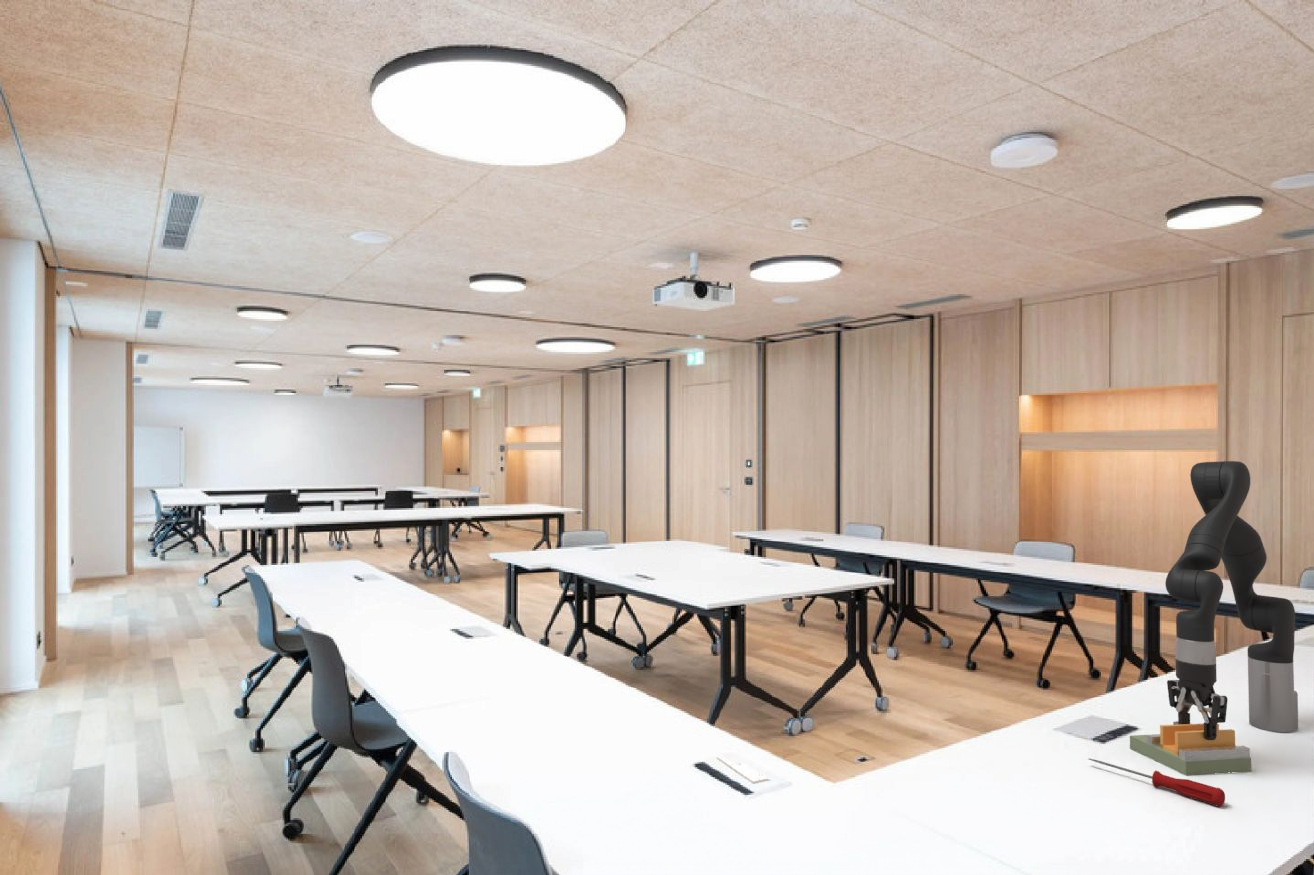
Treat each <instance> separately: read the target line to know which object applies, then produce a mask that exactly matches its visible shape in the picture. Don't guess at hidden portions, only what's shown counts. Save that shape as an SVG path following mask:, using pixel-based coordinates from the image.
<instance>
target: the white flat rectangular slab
mask: <svg viewBox="0 0 1314 875" xmlns="http://www.w3.org/2000/svg"><path fill="white" fill-rule="evenodd" d="M716 759H717V760H718V761H720V762H721V763H723V764H724V765H725V766H727V767H728V768H729V769H731V770H732V771H734V772H736V773H737V774H738V775H740V776H741V777H742V778H744V779H746V780H748V782H750V783H751V784H753V785H754V784H758V783H764V782H770V781H771V778H770V777H768V776H766V775H765V774H763V773H762V772H760V771H759V770H757V769H755V768H754V767H752V766H751V765H749V764H748V763H744V762H743V763H742V762H738V764H736V763H734V762H732V761H731V760H729V759H728V758H726V757H725V756H724V755H718V756H716Z"/></svg>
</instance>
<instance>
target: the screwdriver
mask: <svg viewBox="0 0 1314 875" xmlns="http://www.w3.org/2000/svg"><path fill="white" fill-rule="evenodd" d="M1088 760H1089V761H1093V762H1095V763H1099V764H1100V765H1105V766H1109V767H1111V768H1115V769H1117V770H1121V771H1124V772H1126V773H1127V772H1128V773H1131V774H1135V775H1138V776H1140V777H1141V776H1142V777H1144V778H1148V779H1150V780H1151V782H1152V785H1153V787H1156V788H1159V787H1161V788H1164V789H1170V790H1172V791H1175V792H1177V793H1178V794H1181V795H1183V796H1184V797H1187V798H1190V799H1194V800H1198V801H1200V802H1204V803H1206V804H1211V805H1212V806H1213V805H1214V806H1216V807H1222V806H1224V805H1225V802H1226V795H1225V794H1226V793H1225V791H1224V790H1223V789H1222V788H1220V787H1214V786H1212V785H1208V784H1206V783H1201V782H1198V781H1193V780H1191V779H1186V778H1185V779H1184V778H1175V777H1172V776H1169V775H1166V774H1163V773H1161V772H1160V771H1158V770H1154V771H1153V772H1152V775H1150V774H1145V773H1142V772H1139V771H1135V770H1133V769H1129V768H1125V767H1122V766H1118V765H1115V764H1111V763H1109V762H1105V761H1102V760H1099V759H1093V758H1088Z"/></svg>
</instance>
